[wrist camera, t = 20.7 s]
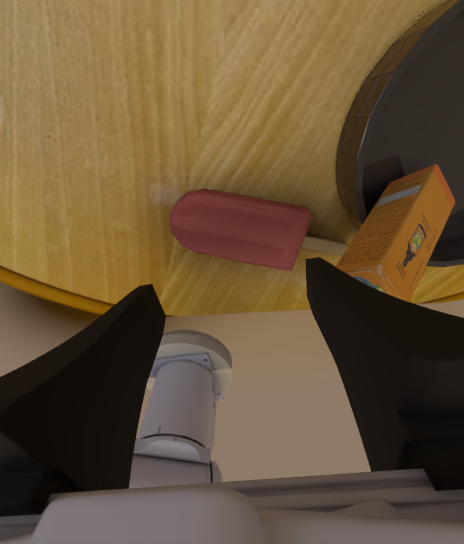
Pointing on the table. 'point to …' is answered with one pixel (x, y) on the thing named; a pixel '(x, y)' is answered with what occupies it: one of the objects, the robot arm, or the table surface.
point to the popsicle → (246, 229)
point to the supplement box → (400, 233)
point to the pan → (410, 124)
